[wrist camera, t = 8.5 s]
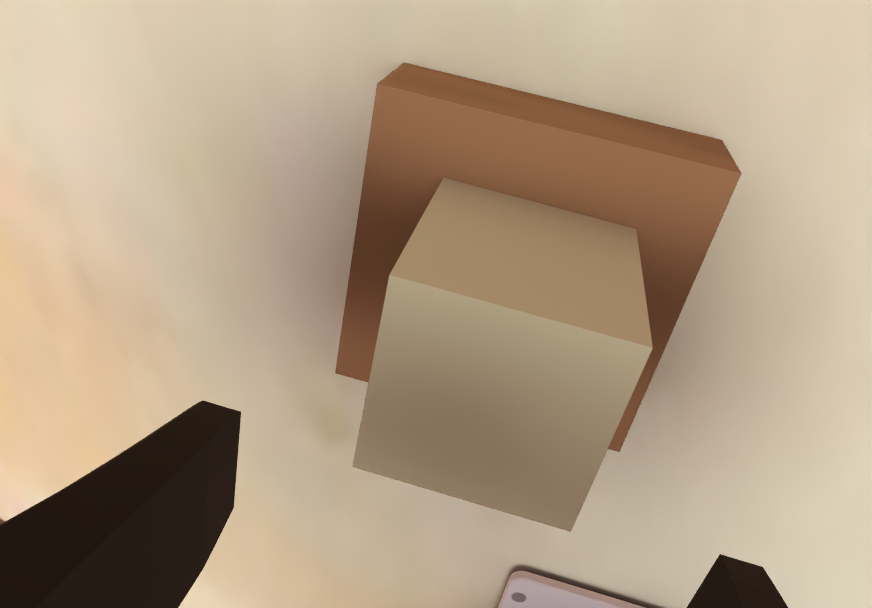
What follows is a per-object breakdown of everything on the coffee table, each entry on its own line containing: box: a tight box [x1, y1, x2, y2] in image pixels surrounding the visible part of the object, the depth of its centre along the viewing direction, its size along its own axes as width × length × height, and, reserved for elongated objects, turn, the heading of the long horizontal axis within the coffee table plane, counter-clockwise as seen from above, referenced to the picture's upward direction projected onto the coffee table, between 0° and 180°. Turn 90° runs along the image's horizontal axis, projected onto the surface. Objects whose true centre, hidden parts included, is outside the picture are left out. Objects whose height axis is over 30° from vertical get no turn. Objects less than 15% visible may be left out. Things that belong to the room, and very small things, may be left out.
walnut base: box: [335, 63, 741, 452], centre depth 18 cm, size 8×8×3 cm
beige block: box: [353, 178, 653, 532], centre depth 15 cm, size 4×4×5 cm
